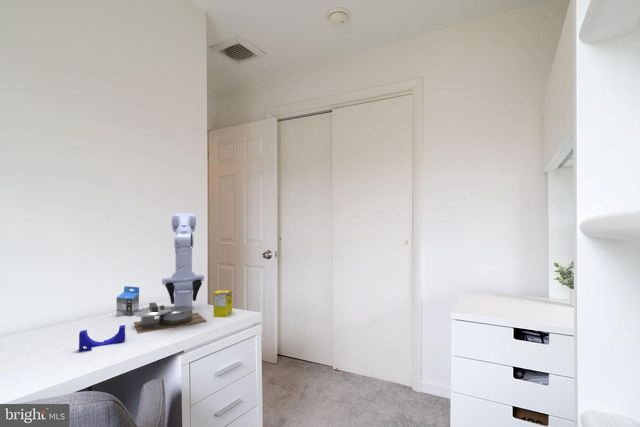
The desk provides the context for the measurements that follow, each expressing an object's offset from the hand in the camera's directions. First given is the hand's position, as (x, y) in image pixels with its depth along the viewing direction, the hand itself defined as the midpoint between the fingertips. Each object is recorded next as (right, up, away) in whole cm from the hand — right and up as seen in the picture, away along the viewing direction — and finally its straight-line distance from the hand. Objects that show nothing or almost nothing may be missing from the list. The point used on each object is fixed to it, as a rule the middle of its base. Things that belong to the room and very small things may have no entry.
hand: (183, 301), depth 122 cm
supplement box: (+10, -11, +15) cm, 21 cm away
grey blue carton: (-31, -11, +17) cm, 37 cm away
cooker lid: (-12, -5, +2) cm, 13 cm away
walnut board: (-7, -10, +5) cm, 14 cm away
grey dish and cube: (-8, -9, +5) cm, 13 cm away
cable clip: (-19, -10, -17) cm, 27 cm away
